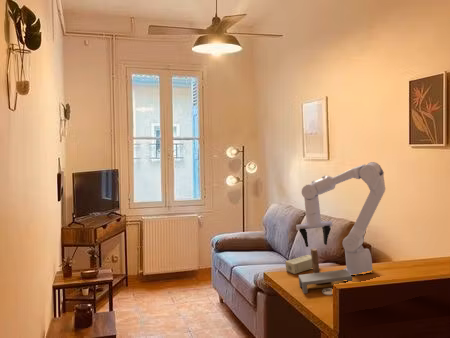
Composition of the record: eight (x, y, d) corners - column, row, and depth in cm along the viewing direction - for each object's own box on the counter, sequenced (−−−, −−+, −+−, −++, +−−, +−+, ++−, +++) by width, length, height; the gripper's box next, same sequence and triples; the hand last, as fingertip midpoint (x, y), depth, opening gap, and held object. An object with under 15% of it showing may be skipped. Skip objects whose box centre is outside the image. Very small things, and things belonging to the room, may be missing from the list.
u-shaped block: (346, 279, 164) (345, 269, 163) (353, 287, 156) (352, 276, 155) (299, 285, 164) (298, 275, 163) (303, 293, 156) (302, 282, 155)
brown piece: (322, 271, 176) (320, 247, 175) (330, 281, 164) (328, 256, 163) (308, 273, 176) (305, 249, 175) (315, 283, 164) (312, 258, 163)
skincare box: (294, 274, 177) (318, 267, 182) (293, 264, 176) (317, 257, 182) (285, 270, 182) (309, 264, 188) (284, 260, 182) (308, 254, 187)
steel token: (334, 289, 157) (334, 287, 156) (338, 294, 152) (338, 292, 151) (320, 291, 156) (320, 289, 156) (324, 296, 151) (324, 293, 151)
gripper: (328, 209, 181) (331, 240, 182) (293, 213, 181) (297, 244, 182) (332, 212, 174) (335, 245, 175) (296, 216, 174) (300, 249, 175)
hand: (316, 245), depth 178 cm, fingers open, 7 cm apart
